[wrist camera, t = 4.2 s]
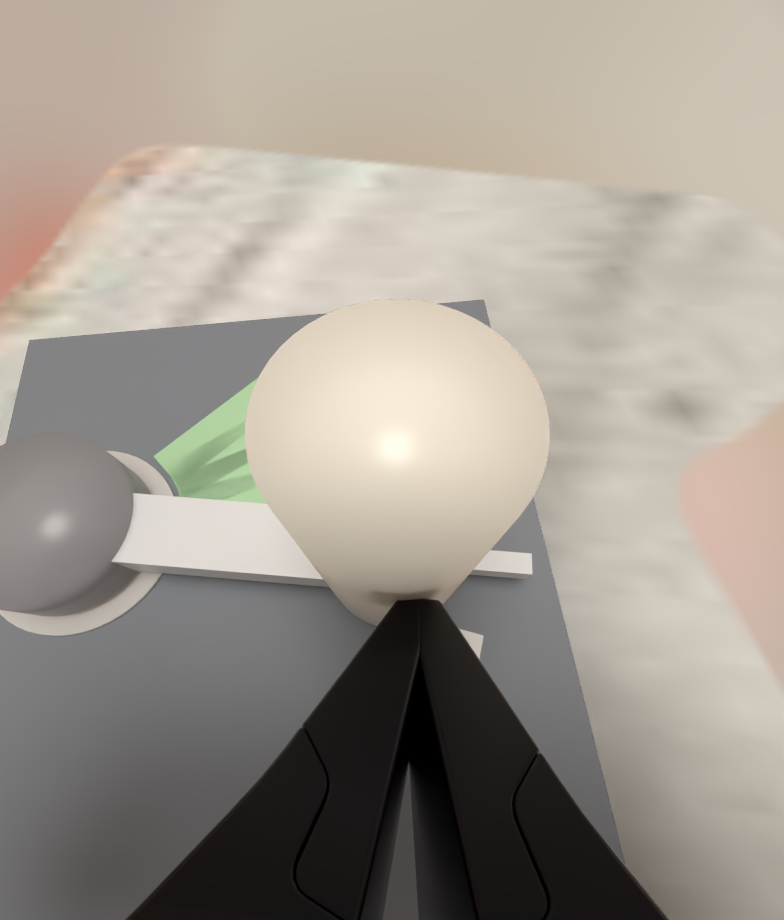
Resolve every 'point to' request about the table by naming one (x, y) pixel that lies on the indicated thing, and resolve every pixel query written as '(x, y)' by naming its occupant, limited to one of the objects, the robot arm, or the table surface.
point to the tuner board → (211, 644)
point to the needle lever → (307, 476)
